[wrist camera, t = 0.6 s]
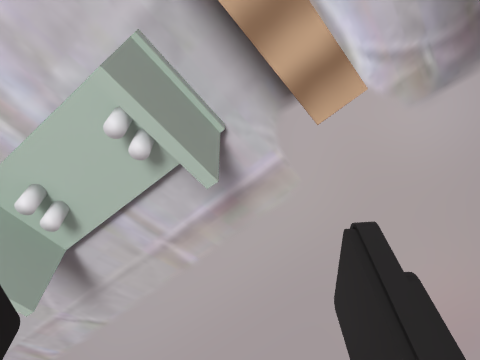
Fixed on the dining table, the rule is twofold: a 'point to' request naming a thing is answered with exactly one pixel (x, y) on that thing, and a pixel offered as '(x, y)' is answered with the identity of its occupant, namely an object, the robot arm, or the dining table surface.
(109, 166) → the shelf rack
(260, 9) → the wooden block
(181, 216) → the dining table surface
